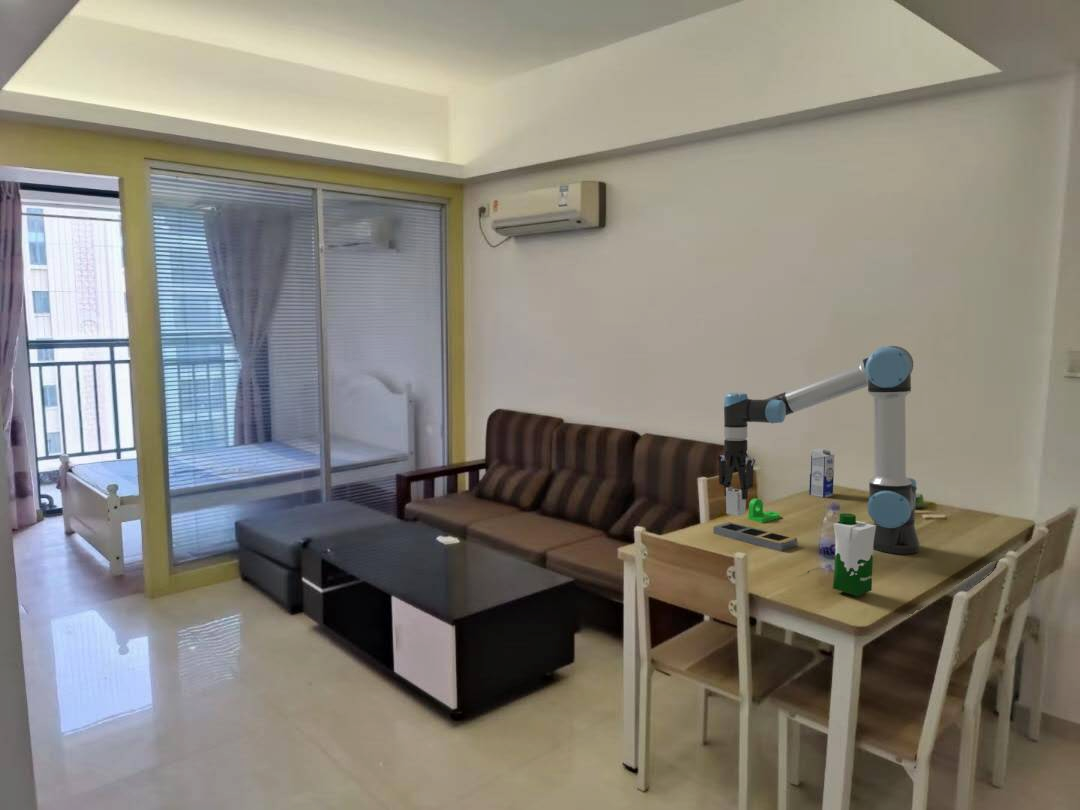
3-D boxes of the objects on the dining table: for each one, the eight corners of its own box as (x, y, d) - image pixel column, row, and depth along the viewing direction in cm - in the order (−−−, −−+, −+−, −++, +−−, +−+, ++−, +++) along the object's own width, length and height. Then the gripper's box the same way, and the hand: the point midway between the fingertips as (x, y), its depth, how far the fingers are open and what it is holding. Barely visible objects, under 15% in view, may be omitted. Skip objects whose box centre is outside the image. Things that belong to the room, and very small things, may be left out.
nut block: (745, 513, 248) (745, 489, 247) (737, 516, 245) (737, 492, 244) (734, 511, 251) (734, 488, 250) (726, 513, 248) (726, 490, 247)
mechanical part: (761, 524, 262) (762, 502, 261) (748, 520, 267) (748, 499, 266) (782, 519, 269) (783, 498, 268) (769, 515, 274) (769, 494, 273)
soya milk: (845, 581, 203) (848, 510, 201) (877, 591, 195) (880, 517, 193) (827, 588, 198) (830, 515, 195) (859, 598, 190) (862, 523, 188)
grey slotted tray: (796, 545, 236) (797, 537, 235) (781, 551, 230) (781, 543, 230) (729, 529, 256) (729, 521, 255) (713, 533, 250) (713, 526, 250)
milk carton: (817, 494, 307) (819, 447, 305) (833, 497, 302) (834, 449, 300) (808, 497, 303) (810, 449, 300) (824, 500, 297) (826, 451, 295)
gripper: (765, 440, 241) (765, 509, 243) (720, 435, 255) (721, 501, 257) (751, 442, 236) (751, 513, 238) (707, 437, 250) (707, 504, 252)
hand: (735, 507), depth 248 cm, fingers closed on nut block, 4 cm apart
